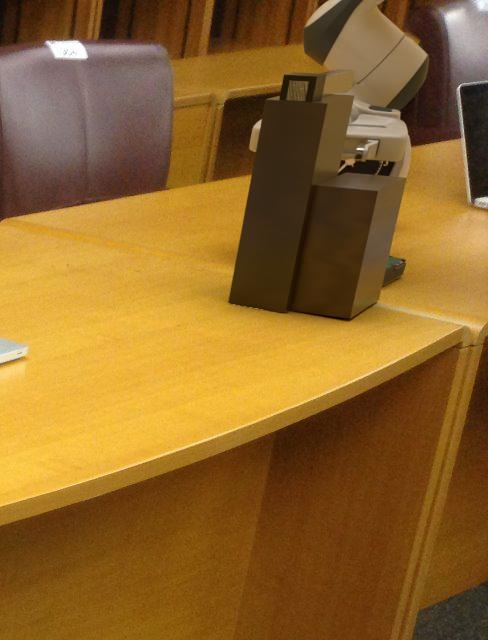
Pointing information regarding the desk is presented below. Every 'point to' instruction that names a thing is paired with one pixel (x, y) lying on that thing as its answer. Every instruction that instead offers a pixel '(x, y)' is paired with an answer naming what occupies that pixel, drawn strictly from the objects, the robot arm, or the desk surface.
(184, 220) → the desk surface
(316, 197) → the stepped stand
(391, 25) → the robot arm
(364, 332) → the desk surface
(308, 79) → the handle bar
